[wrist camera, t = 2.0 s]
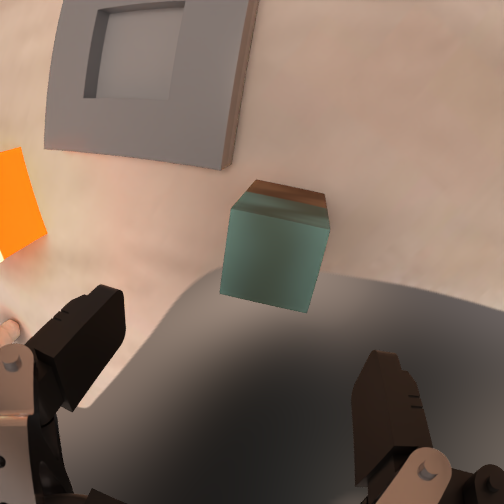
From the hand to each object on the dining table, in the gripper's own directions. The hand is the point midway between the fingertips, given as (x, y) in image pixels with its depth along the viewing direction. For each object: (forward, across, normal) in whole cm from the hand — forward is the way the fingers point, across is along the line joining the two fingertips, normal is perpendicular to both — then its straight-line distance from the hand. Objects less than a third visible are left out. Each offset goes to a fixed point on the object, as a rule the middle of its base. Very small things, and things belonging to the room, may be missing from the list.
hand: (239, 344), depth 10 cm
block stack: (+13, 0, 0) cm, 13 cm away
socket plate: (+13, +11, -10) cm, 20 cm away
